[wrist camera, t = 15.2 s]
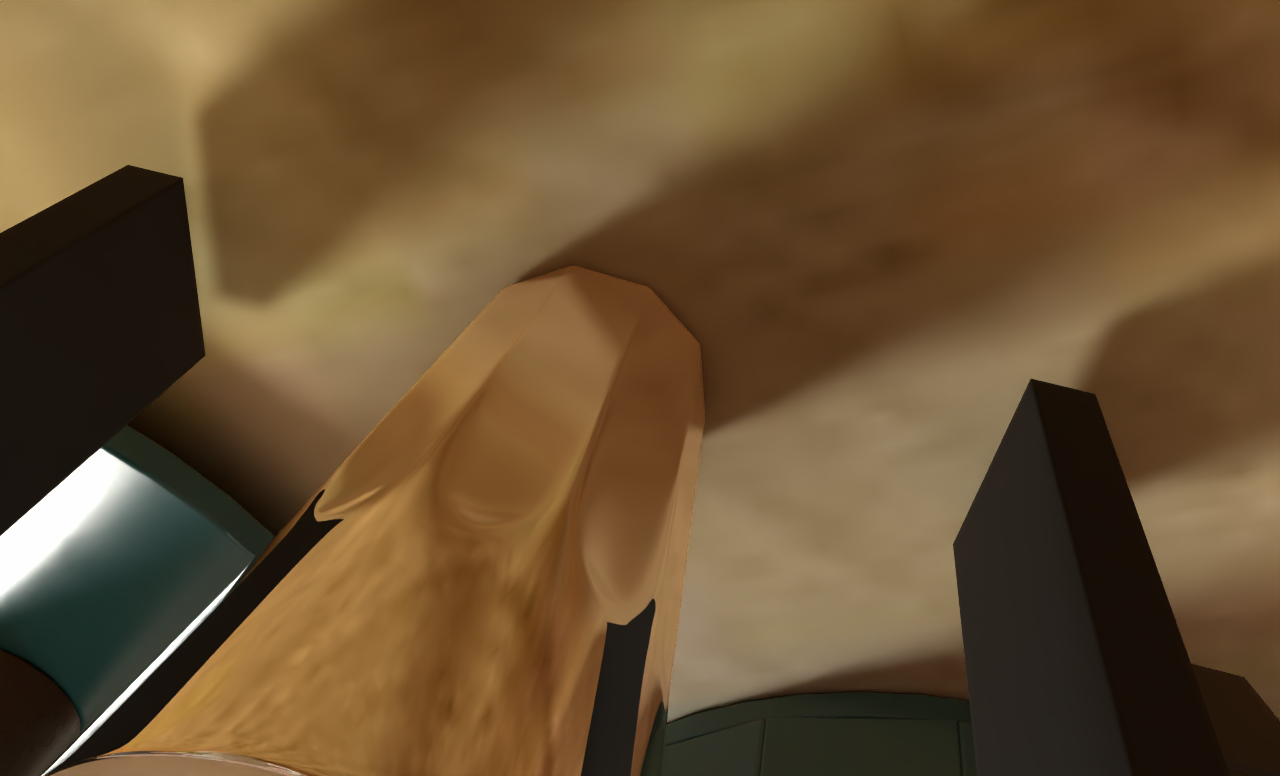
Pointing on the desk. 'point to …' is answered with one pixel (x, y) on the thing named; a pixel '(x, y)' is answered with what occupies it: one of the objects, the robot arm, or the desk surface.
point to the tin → (825, 737)
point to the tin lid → (106, 588)
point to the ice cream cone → (459, 572)
